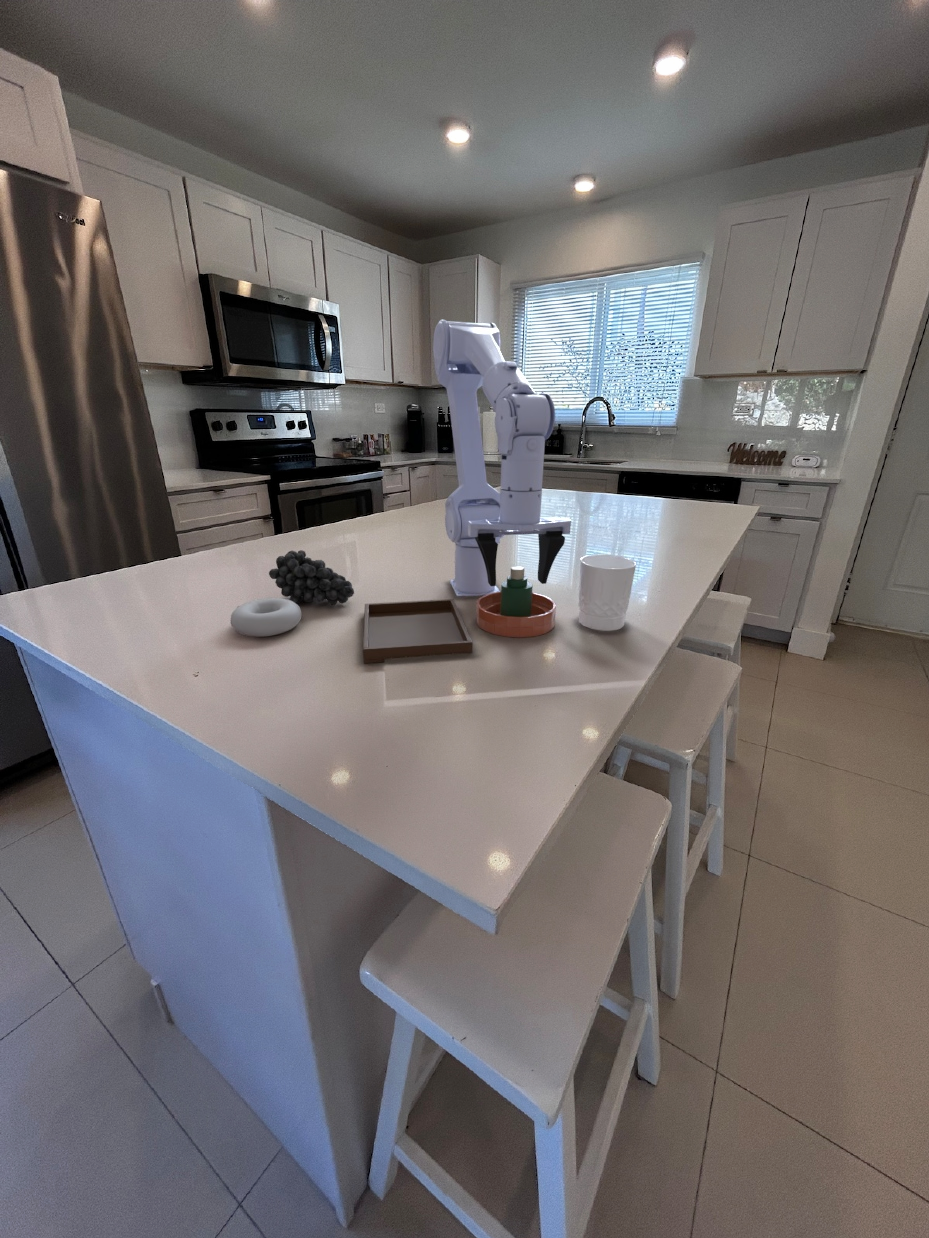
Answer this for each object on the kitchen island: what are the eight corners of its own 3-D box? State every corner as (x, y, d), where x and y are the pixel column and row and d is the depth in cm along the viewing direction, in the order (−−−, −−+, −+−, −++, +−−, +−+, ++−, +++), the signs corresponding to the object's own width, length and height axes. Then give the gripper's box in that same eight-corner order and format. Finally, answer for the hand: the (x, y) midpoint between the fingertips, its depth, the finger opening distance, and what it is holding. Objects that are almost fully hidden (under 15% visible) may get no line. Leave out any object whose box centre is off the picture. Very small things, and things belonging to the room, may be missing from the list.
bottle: (497, 617, 79) (498, 564, 76) (525, 615, 80) (528, 563, 77) (504, 628, 75) (506, 573, 72) (534, 626, 76) (537, 571, 73)
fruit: (358, 551, 82) (286, 540, 88) (329, 580, 77) (253, 566, 82) (370, 593, 88) (301, 580, 93) (344, 623, 82) (272, 607, 88)
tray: (365, 615, 81) (364, 603, 80) (453, 610, 83) (453, 598, 83) (364, 663, 65) (362, 649, 65) (472, 655, 68) (472, 642, 67)
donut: (269, 646, 70) (316, 620, 79) (265, 623, 69) (314, 599, 77) (217, 634, 74) (268, 610, 83) (212, 612, 73) (264, 590, 81)
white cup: (629, 637, 74) (639, 570, 70) (574, 632, 75) (580, 567, 71) (625, 617, 81) (633, 556, 77) (574, 613, 82) (580, 553, 78)
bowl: (470, 613, 82) (470, 592, 81) (540, 609, 84) (541, 589, 83) (485, 643, 71) (485, 620, 70) (565, 637, 73) (567, 615, 72)
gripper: (474, 494, 65) (473, 594, 70) (581, 491, 68) (573, 588, 73) (465, 487, 72) (465, 579, 77) (563, 485, 74) (557, 574, 79)
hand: (517, 583), depth 75 cm, fingers open, 7 cm apart
